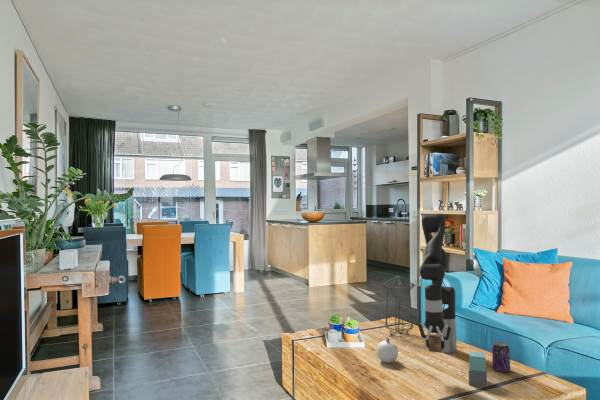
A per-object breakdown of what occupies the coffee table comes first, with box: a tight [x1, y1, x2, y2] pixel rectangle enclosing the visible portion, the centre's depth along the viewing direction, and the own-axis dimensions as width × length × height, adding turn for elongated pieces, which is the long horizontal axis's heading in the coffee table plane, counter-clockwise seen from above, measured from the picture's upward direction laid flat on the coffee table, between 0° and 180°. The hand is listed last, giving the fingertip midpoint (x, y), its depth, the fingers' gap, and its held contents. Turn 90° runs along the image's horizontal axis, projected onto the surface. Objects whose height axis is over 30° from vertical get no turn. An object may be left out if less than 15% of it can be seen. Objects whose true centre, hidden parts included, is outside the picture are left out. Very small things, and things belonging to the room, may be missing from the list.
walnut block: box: [428, 333, 442, 353], centre depth 183 cm, size 5×5×6 cm
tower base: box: [468, 364, 488, 388], centre depth 177 cm, size 7×7×6 cm
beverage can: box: [491, 341, 511, 373], centre depth 190 cm, size 7×7×12 cm
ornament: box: [376, 337, 399, 364], centre depth 204 cm, size 10×10×12 cm
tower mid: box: [468, 350, 486, 372], centre depth 177 cm, size 6×6×6 cm
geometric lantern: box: [380, 275, 416, 338], centre depth 248 cm, size 16×16×35 cm
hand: (435, 348), depth 183 cm, fingers closed on walnut block, 5 cm apart
